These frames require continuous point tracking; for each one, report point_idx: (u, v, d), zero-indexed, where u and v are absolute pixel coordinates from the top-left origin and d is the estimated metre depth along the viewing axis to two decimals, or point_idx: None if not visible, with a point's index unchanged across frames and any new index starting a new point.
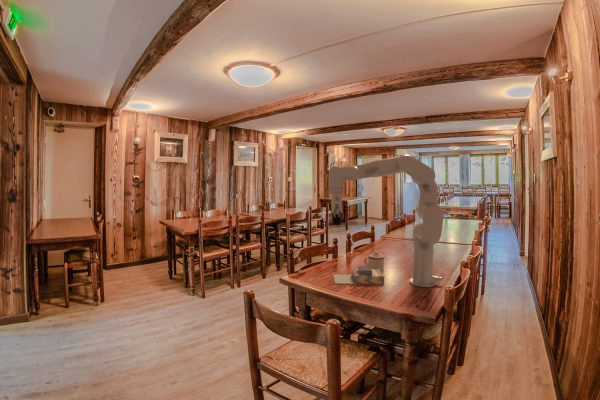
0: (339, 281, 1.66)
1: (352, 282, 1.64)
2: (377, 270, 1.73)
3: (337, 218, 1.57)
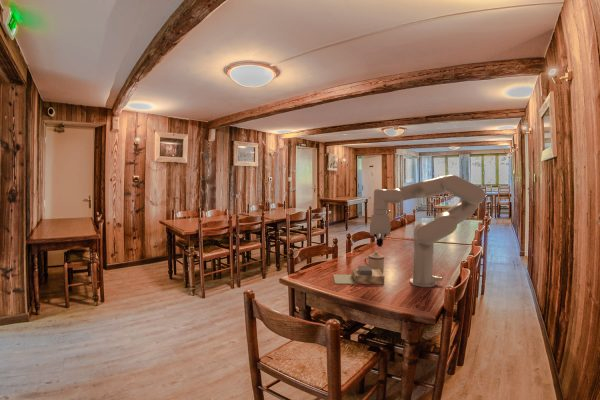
0: (339, 281, 1.66)
1: (352, 282, 1.64)
2: (377, 270, 1.73)
3: None
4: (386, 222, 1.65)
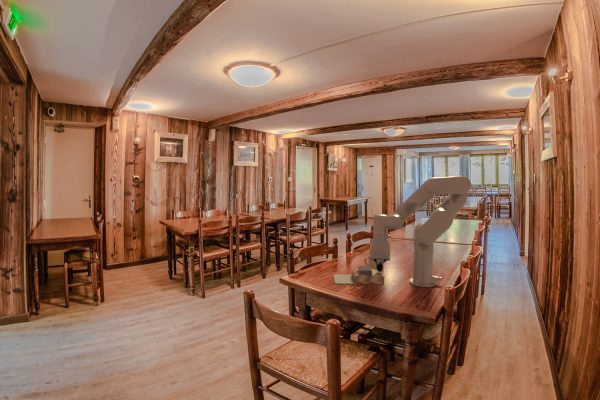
0: (339, 281, 1.66)
1: (352, 282, 1.64)
2: (377, 270, 1.73)
3: None
4: (386, 247, 1.66)
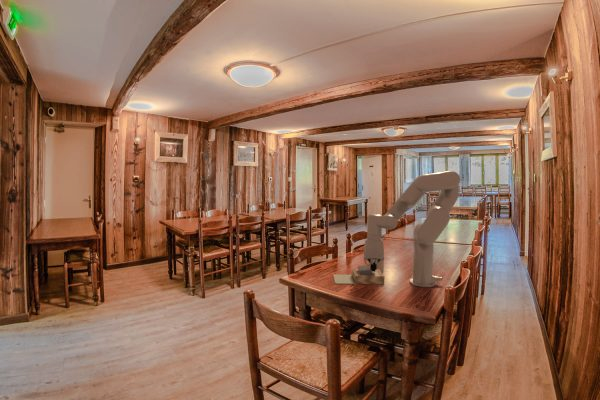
0: (339, 281, 1.66)
1: (352, 282, 1.64)
2: (377, 270, 1.73)
3: None
4: (380, 247, 1.66)
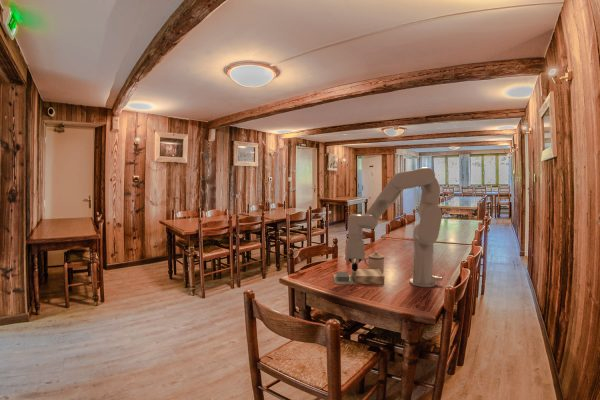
0: (339, 281, 1.66)
1: (352, 282, 1.64)
2: (377, 270, 1.73)
3: (357, 264, 1.69)
4: (360, 247, 1.66)
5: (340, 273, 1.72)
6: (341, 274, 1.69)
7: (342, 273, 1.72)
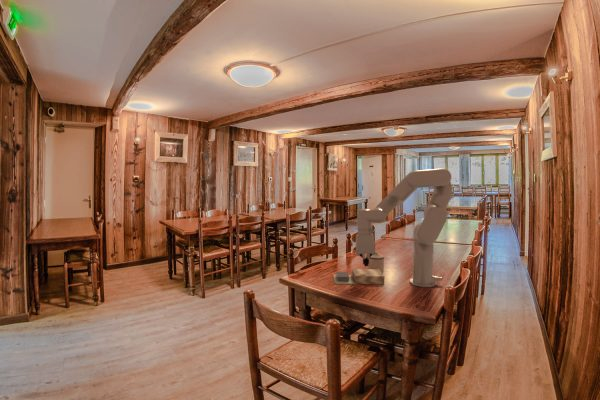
0: (339, 281, 1.66)
1: (352, 282, 1.64)
2: (377, 270, 1.73)
3: (368, 259, 1.69)
4: (371, 242, 1.66)
5: (340, 273, 1.72)
6: (341, 274, 1.69)
7: (342, 273, 1.72)
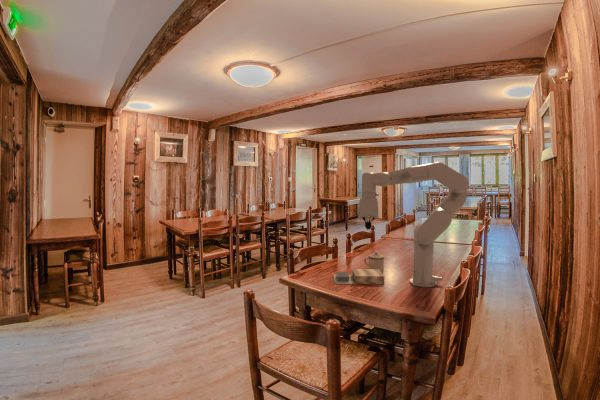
0: (339, 281, 1.66)
1: (352, 282, 1.64)
2: (377, 270, 1.73)
3: None
4: (374, 205, 1.67)
5: (340, 273, 1.72)
6: (341, 274, 1.69)
7: (342, 273, 1.72)
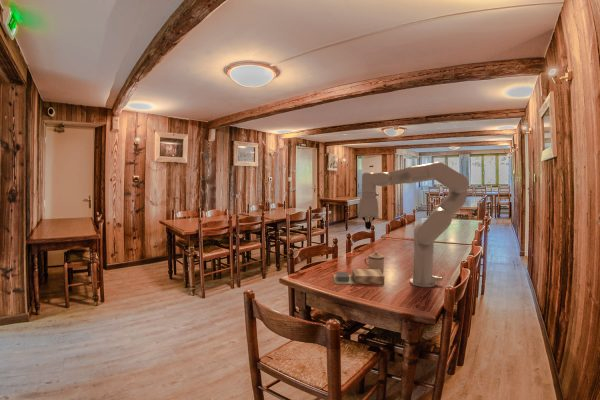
0: (339, 281, 1.66)
1: (352, 282, 1.64)
2: (377, 270, 1.73)
3: None
4: (374, 205, 1.67)
5: (340, 273, 1.72)
6: (341, 274, 1.69)
7: (342, 273, 1.72)
